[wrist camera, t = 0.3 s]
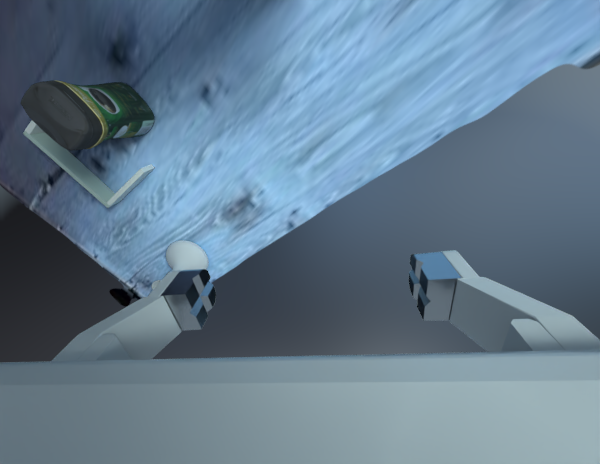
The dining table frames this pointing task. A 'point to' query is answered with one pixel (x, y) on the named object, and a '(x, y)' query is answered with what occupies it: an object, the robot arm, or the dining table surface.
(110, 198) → the report bay
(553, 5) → the dining table surface
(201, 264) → the flower in vase
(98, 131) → the coffee jar
